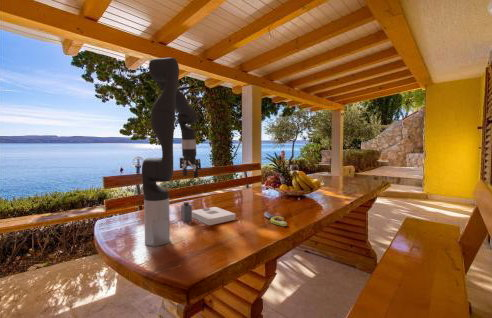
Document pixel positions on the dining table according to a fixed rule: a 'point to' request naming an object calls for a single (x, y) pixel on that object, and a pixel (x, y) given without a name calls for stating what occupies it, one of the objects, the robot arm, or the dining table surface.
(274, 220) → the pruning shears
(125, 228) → the dining table surface
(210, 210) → the socket plate
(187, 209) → the gray knobbed square peg
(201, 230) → the dining table surface
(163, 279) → the dining table surface
